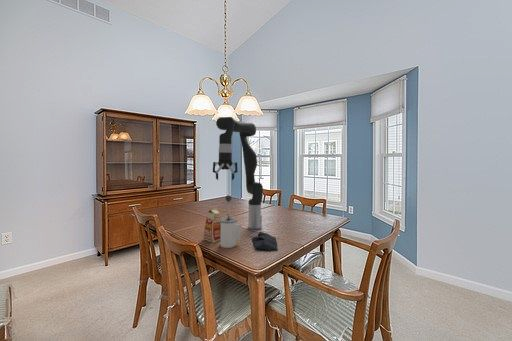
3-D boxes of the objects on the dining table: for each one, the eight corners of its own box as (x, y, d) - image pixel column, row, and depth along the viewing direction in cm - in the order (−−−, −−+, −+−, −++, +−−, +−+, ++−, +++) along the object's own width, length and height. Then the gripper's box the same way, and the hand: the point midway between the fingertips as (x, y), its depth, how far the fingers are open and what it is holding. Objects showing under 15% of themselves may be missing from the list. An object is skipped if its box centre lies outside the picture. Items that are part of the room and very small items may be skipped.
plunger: (231, 222, 141) (231, 194, 140) (231, 223, 137) (232, 195, 136) (224, 222, 140) (225, 194, 139) (225, 224, 136) (225, 195, 136)
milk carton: (213, 242, 143) (213, 209, 142) (202, 239, 148) (202, 207, 147) (223, 238, 151) (223, 206, 149) (212, 235, 155) (212, 205, 154)
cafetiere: (239, 241, 146) (239, 217, 145) (242, 246, 137) (242, 221, 136) (219, 242, 143) (219, 217, 142) (221, 248, 134) (221, 222, 133)
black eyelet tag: (251, 251, 131) (251, 243, 131) (252, 238, 153) (252, 230, 153) (279, 252, 131) (279, 243, 131) (276, 238, 153) (276, 231, 153)
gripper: (237, 152, 143) (236, 179, 144) (213, 151, 141) (212, 179, 142) (238, 152, 136) (237, 180, 136) (212, 151, 134) (212, 180, 134)
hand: (225, 179), depth 139 cm, fingers open, 8 cm apart
